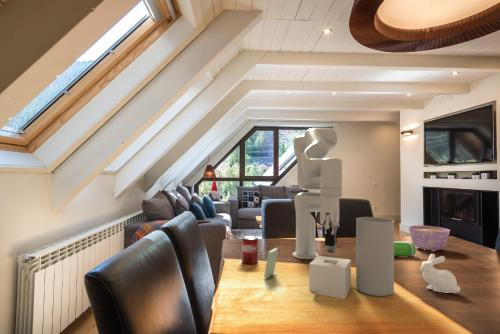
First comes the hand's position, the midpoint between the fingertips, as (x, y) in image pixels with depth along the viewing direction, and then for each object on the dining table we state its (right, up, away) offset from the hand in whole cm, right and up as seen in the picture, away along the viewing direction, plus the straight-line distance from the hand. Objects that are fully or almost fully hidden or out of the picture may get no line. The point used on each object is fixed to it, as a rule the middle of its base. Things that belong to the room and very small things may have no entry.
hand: (330, 244), depth 114 cm
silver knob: (0, -3, 0) cm, 3 cm away
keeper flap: (-21, -15, +11) cm, 28 cm away
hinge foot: (-20, -16, +11) cm, 28 cm away
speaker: (+45, -18, +48) cm, 68 cm away
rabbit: (+38, -17, +1) cm, 42 cm away
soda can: (-29, -17, +30) cm, 45 cm away
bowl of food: (+69, -18, +63) cm, 95 cm away
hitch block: (0, -16, 0) cm, 16 cm away
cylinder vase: (+16, -17, 0) cm, 23 cm away
